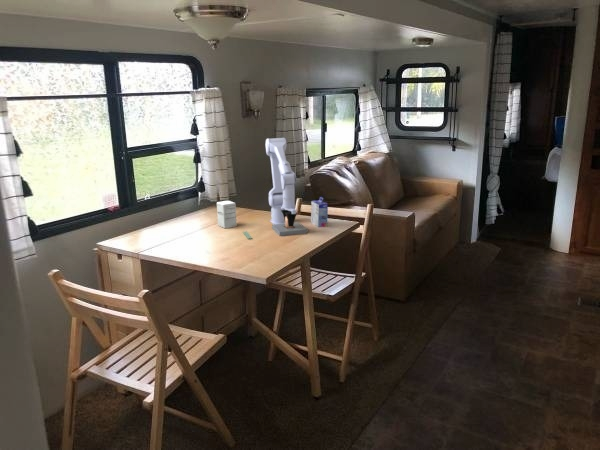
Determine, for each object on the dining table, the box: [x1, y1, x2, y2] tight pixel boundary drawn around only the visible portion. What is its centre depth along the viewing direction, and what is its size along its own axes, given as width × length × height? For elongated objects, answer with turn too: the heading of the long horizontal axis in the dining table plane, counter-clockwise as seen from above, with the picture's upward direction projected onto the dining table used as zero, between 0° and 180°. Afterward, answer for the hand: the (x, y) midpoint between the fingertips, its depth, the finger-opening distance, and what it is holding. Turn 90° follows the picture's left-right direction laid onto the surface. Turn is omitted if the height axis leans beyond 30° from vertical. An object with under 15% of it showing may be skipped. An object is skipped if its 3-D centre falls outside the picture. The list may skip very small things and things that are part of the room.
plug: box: [285, 216, 294, 229], centre depth 241 cm, size 4×4×7 cm
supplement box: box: [216, 200, 237, 229], centre depth 253 cm, size 7×7×13 cm
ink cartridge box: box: [310, 196, 329, 228], centre depth 251 cm, size 10×6×14 cm, turn 22°
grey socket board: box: [271, 221, 309, 237], centre depth 242 cm, size 14×14×2 cm
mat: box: [242, 230, 253, 240], centre depth 238 cm, size 12×12×1 cm
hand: (289, 225), depth 241 cm, fingers closed on plug, 4 cm apart
